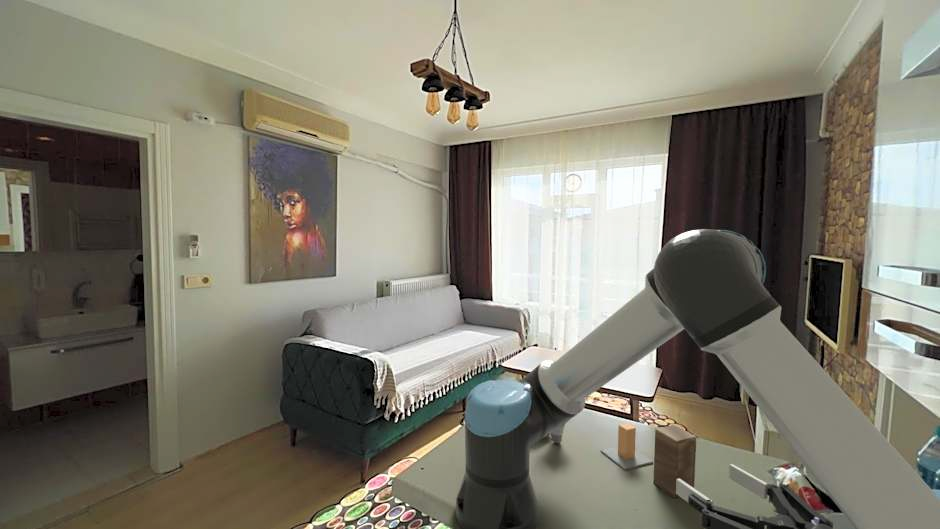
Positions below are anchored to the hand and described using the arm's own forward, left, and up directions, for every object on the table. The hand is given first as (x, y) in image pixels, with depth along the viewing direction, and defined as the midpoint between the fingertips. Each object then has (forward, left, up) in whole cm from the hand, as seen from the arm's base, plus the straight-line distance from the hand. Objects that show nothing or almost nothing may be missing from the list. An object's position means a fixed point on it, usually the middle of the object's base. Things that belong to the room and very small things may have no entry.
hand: (704, 478), depth 72 cm
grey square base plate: (-15, +11, -6) cm, 20 cm away
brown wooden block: (-5, +4, -6) cm, 9 cm away
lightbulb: (-31, +9, -6) cm, 33 cm away
